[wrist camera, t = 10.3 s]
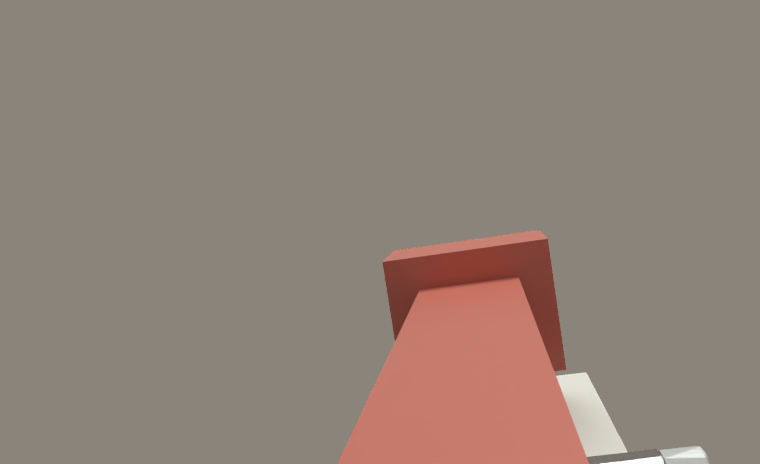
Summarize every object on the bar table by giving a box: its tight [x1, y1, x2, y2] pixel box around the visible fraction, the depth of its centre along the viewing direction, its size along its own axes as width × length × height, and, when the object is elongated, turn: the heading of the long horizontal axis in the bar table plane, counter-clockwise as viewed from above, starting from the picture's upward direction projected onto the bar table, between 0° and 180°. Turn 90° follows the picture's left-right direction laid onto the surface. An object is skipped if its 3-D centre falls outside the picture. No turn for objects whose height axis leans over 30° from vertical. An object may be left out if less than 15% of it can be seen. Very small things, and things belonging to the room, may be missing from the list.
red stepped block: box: [338, 230, 589, 464], centre depth 15 cm, size 19×5×4 cm, turn 173°
